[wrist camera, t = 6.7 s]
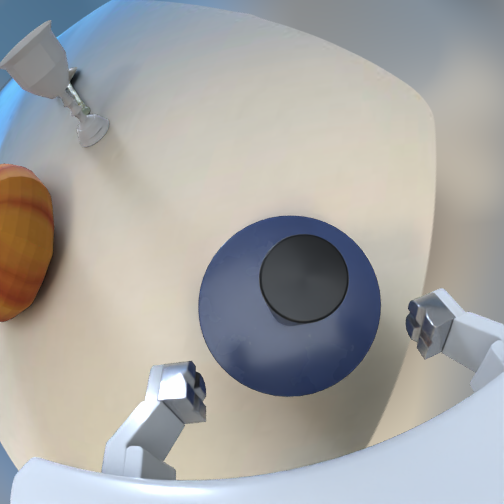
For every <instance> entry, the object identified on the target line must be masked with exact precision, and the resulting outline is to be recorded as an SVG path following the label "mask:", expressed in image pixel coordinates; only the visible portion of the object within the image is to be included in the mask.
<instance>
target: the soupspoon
mask: <svg viewBox="0 0 504 504" xmlns="http://www.w3.org/2000/svg"><path fill="white" fill-rule="evenodd" d="M76 70H77V67H73V68H70V69H68V75H69V85H68V87H67V88H68V89H69V91H70V92H71V94H72V95H73V96H74V98H75V99H76V101H77V102H78V106H80V105H81V106H82V112H83V114H85V115H88V114H89V113H90V108H89V107H86V106H85V104H83V101H81V99H80V98H79V96H78V94H77V93H76V91H75V90H74V88H73V87H72V85H71V83H70V80H71V79H72V77H73V76H74V74H75V72H76Z"/></svg>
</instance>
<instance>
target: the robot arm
mask: <svg viewBox="0 0 504 504" xmlns="http://www.w3.org/2000/svg"><path fill="white" fill-rule="evenodd" d="M408 309H409V311H410V313H409V314H408V316H407V317H406V330H407V332H408V335H409V336H410V338H411V340H413V341H416V342H417V349H418V350H419V352H420V353H421V355H422V356H423V358H424V359H427V358H429V357H432V356H434V355H436V354H438V353H440V352H442V353H443V354H445V355H446V356H448V357H450V358H451V359H454V360H455V361H457V362H459V363H460V364H462V365H464V366H465V367H467V368H469V369H470V370H472V371H474V372H475V373H476V374H475V375H474V377H473V379H472V380H471V383H470V386H471V387H472V389H473V391H474V394H472V395H471V396H469V397H468V398H466V399H464V400H463V401H462V402H460V403H458V404H457V405H455V406H453V407H452V408H450V409H448V410H446V411H445V412H443V413H441V414H439V415H438V416H436V417H434V418H432V419H430V420H428V421H427V422H424V423H423V424H421V425H419V426H417V427H415V428H412V429H410V430H408V431H406V432H404V433H402V434H400V435H397V436H395V437H393V438H391V439H388V440H386V441H383V442H381V443H378V444H376V445H373V446H371V447H368V448H365V449H362V450H359V451H356V452H354V453H351V454H348V455H344V456H341V457H338V458H335V459H331V460H328V461H324V462H320V463H317V464H313V465H309V466H304V467H300V468H295V469H291V470H286V471H280V472H275V473H269V474H262V475H255V476H248V477H239V478H228V479H213V480H176V470H175V469H174V468H173V467H171V466H170V465H168V464H166V463H165V462H163V461H164V460H165V458H166V456H167V455H168V453H169V451H170V450H171V448H172V446H173V445H174V443H175V441H176V440H177V438H178V436H179V435H180V433H181V431H182V430H183V428H184V426H185V425H184V424H190V423H199V422H206V406H205V405H204V403H203V400H204V399H205V397H206V387H205V382H204V380H203V377H202V376H201V374H200V373H198V372H196V366H195V365H194V363H193V362H192V361H187V362H179V363H171V364H163V365H154V366H152V368H151V370H150V375H149V380H148V386H147V391H146V397H145V402H141V403H140V404H139V405H138V407H137V408H136V409H135V410H134V411H133V412H132V414H131V415H130V416H129V417H128V418H127V420H126V421H125V422H124V423H123V424H122V425H121V427H120V428H119V429H118V430H117V431H116V432H115V434H114V435H113V436H112V437H111V438H110V439H109V441H108V442H107V443H106V448H105V453H104V459H103V465H102V472H101V473H99V472H94V471H88V470H84V469H79V468H75V467H71V466H67V465H63V464H59V463H56V462H52V461H49V460H46V459H42V458H38V457H34V458H31V459H30V460H29V461H28V462H27V463H26V464H25V465H24V466H23V467H22V468H21V469H20V470H19V471H18V473H17V474H16V475H15V478H14V481H13V485H12V491H11V500H10V504H504V324H501V323H499V322H496V321H493V320H491V319H488V318H485V317H483V316H480V315H477V314H474V313H472V312H469V311H468V312H465V311H464V310H463V309H462V308H461V307H460V305H459V304H458V303H457V302H456V301H455V300H454V299H453V298H452V297H451V296H450V295H449V294H448V293H447V292H446V290H444V289H442V288H440V289H438V290H436V291H433V292H431V293H428V294H426V295H423V296H421V297H419V298H416V299H414V300H411V301H410V303H409V306H408Z"/></svg>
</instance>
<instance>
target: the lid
mask: <svg viewBox="0 0 504 504" xmlns="http://www.w3.org/2000/svg"><path fill="white" fill-rule="evenodd" d="M380 311H381V300H380V290H379V286H378V281H377V278H376V275H375V272H374V270H373V268H372V266H371V264H370V262H369V260H368V258H367V257H366V255H365V254H364V253H363V251H362V250H361V249H360V247H359V246H358V245H357V244H356V243H355V242H354V241H353V240H352V239H351V238H350V237H348V236H347V235H346V234H345V233H343V232H342V231H340V230H339V229H337V228H336V227H334V226H332V225H330V224H328V223H325V222H323V221H320V220H317V219H313V218H308V217H303V216H278V217H273V218H268V219H265V220H261V221H258V222H256V223H254V224H251V225H249V226H247V227H245V228H244V229H242V230H240V231H239V232H237V233H236V234H235V235H234V236H232V237H231V238H230V239H229V240H228V241H227V242H226V243H225V244H224V245H223V246H222V247H221V248H220V249H219V250H218V252H217V253H216V254H215V256H214V257H213V259H212V260H211V262H210V264H209V266H208V268H207V270H206V272H205V275H204V277H203V281H202V284H201V288H200V294H199V320H200V326H201V330H202V334H203V337H204V339H205V342H206V344H207V346H208V348H209V350H210V352H211V353H212V355H213V357H214V358H215V360H216V361H217V362H218V363H219V365H220V366H221V367H222V368H223V369H224V370H225V371H226V372H227V373H228V374H229V375H230V376H231V377H233V378H234V379H236V380H237V381H238V382H240V383H241V384H243V385H245V386H247V387H249V388H251V389H253V390H256V391H259V392H261V393H265V394H269V395H274V396H284V397H293V396H303V395H308V394H313V393H316V392H319V391H322V390H324V389H326V388H329V387H331V386H333V385H335V384H336V383H338V382H339V381H341V380H342V379H344V378H345V377H346V376H347V375H349V374H350V373H351V372H352V371H353V370H354V369H355V368H356V367H357V366H358V365H359V363H360V362H361V361H362V360H363V358H364V357H365V355H366V354H367V352H368V351H369V349H370V347H371V345H372V343H373V341H374V338H375V335H376V332H377V329H378V325H379V320H380Z"/></svg>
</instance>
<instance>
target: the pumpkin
mask: <svg viewBox="0 0 504 504" xmlns="http://www.w3.org/2000/svg"><path fill="white" fill-rule="evenodd" d="M53 237H54V220H53V206H52V200H51V196H50V194H49V192H48V190H47V188H46V187H45V186H44V185H43V183H42V182H41V181H40V180H39V179H38V177H37V176H36V175H35V174H34V173H33V172H32V171H31V170H29V169H27V168H25V167H22V166H17V165H12V164H0V322H4V321H8V320H10V319H12V318H14V317H15V316H17V315H18V314H19V313H21V312H22V311H24V310H25V309H26V308H28V307H29V306H30V305H31V304H32V303H33V301H34V299H35V297H36V295H37V292H38V290H39V288H40V286H41V284H42V282H43V280H44V277H45V274H46V271H47V268H48V266H49V263H50V260H51V257H52V255H53Z"/></svg>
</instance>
